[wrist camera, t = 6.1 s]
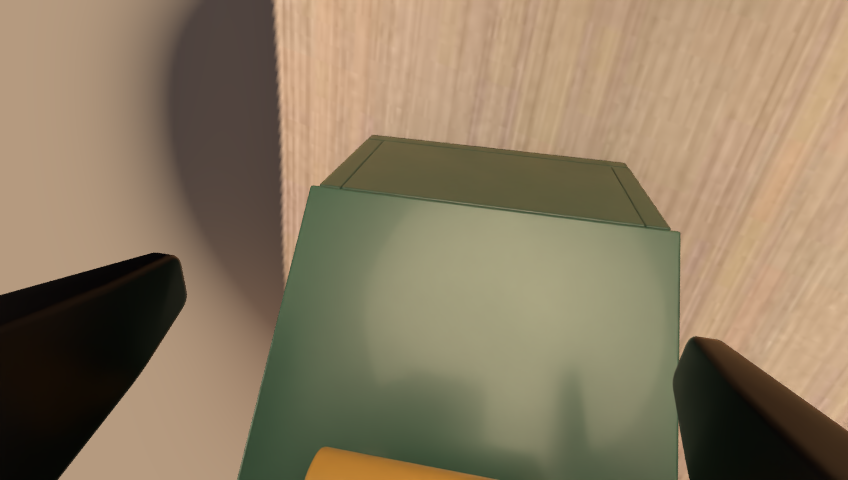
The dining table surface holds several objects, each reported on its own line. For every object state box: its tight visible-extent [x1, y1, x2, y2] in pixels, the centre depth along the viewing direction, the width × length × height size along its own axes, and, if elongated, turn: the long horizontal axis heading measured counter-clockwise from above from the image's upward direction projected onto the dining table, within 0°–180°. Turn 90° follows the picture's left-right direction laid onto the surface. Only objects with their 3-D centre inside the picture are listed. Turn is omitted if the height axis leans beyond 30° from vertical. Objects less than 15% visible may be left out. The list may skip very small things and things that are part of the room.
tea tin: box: [320, 135, 671, 230], centre depth 20 cm, size 14×10×6 cm
